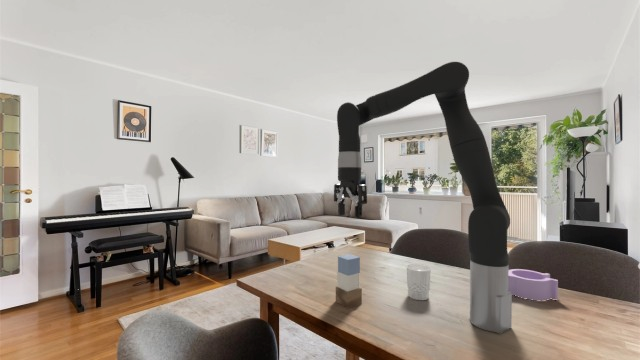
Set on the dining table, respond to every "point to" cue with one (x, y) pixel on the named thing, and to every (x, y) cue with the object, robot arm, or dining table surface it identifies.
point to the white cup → (418, 281)
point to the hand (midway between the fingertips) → (349, 216)
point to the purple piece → (532, 284)
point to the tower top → (347, 281)
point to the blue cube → (348, 264)
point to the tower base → (349, 297)
